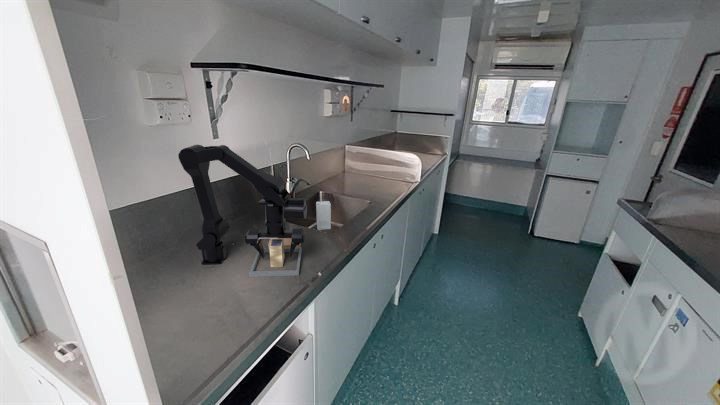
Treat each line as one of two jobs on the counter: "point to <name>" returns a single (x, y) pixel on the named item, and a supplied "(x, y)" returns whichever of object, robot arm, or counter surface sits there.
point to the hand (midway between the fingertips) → (277, 257)
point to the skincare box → (323, 215)
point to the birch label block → (276, 252)
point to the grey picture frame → (275, 273)
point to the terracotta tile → (286, 242)
